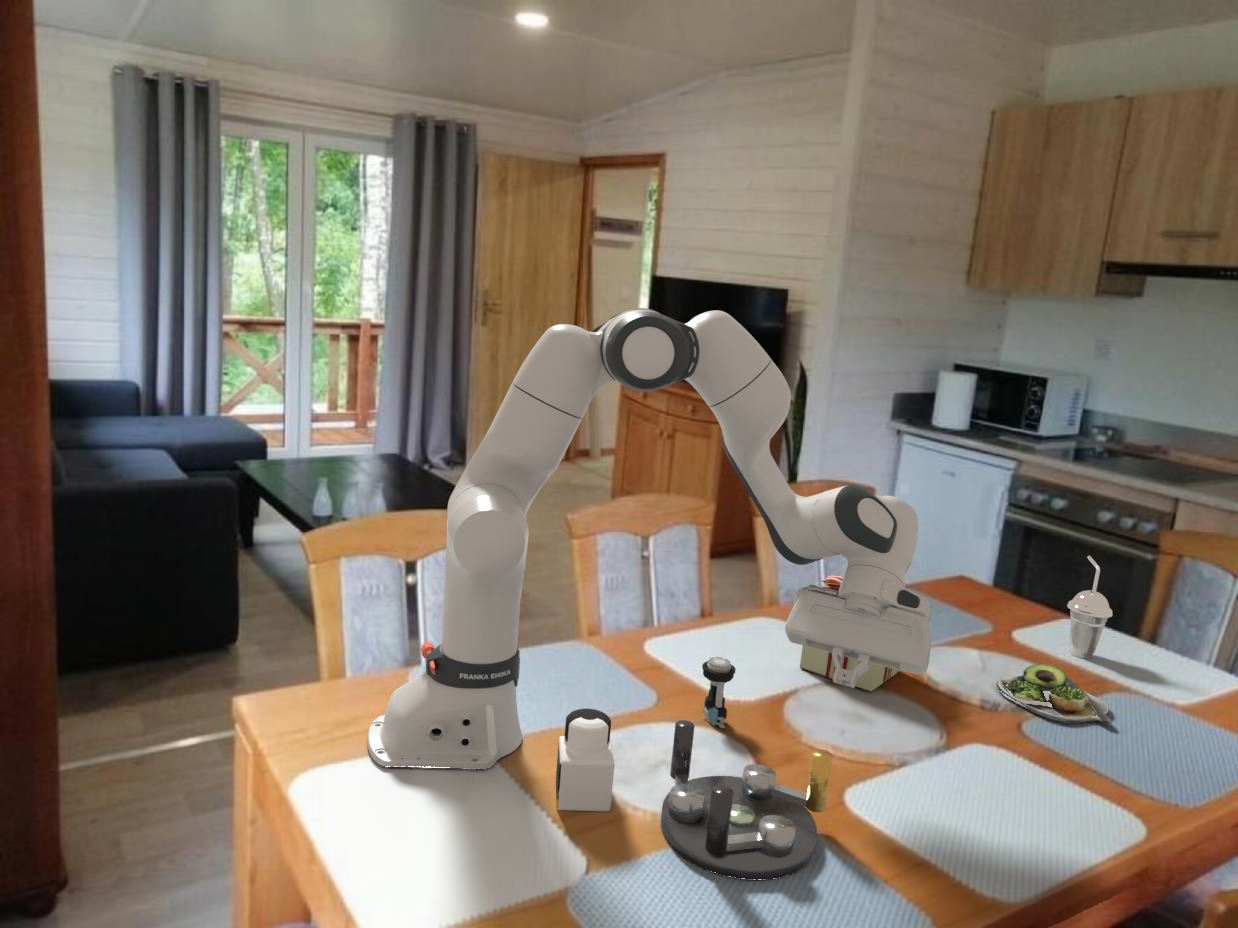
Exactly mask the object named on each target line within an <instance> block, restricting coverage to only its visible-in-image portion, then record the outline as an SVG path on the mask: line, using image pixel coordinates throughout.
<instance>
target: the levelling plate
mask: <svg viewBox="0 0 1238 928" xmlns="http://www.w3.org/2000/svg"><path fill="white" fill-rule="evenodd" d="M742 779H743V777H739V776H732V775H708V776H703V777H702V776H701V777H697V778H691V779H688V781H689V784H690V785H694V786H696V787H698V788H700V789H701V790H702V791H703V792H704V804H703V813H702V818H701V819H700V820H699V821H697V822H693V823H684V822H680V821H677V820H675V819H673V818H672V817H671V816H670V815H669V812H668V809H669V799H670V791H668V793H667V794H666V795H665V797H664V799H663V802H662V806H661V815H660V828H661V832H662V835H663V837H664V839H665V841H666V843H667V844H668V846H669V847H671V849H672V850H673V851H674V852H675V853H676V854H677V855H679V856H680V857H681V858H683V859H684V860H686V861H688V863H690V864H692V865H694V864H695V865H694V866H695V867H697V866H698V867H697V868H699V867H702V868H704V869H706V870H709V871H712V872H716V873H718V874H721V875H725V876H731V877H736V878H740V879H739V880H741V878H745V879H756V880H755V881H759V880H758V879H762V880H761V881H764V880H763V879H772V880H774V879H773V878H778V879H782V878H784V877H783V876H786V875H789V876H791V875H793V874H792V873H794V874H796V873H798V872H799V871H801V870H803V869H804V868H805V867H806V866H807V865H808V864H809V863H810V862H811V861H812V858H813V857H814V854H815V850H816V849H815V848H816V843H817V835H818V828H817V824H816V820H815V819H814V817H813V814H812V813H810V810H808V809H807V808H806V807H804V806H801V805H798V804H796V803H793V802H790V801H787V800H784V799H781V798H778V797H775V796H773V797H772V798H771V799H768V800H755V799H751V798H749V797H747V796H746V795H744V794H743V792H742V790H741V787H742ZM718 785H722V786H726V787H729V788H730V789H732V790H733V801H732V809H731V818H730V826H729V834H728V835H737V834H746V833H755V832H759V824H760V820H761V819H762V818H763V817H765V816H768V815H777V816H782V817H785V818H787V819H789V820H790V821H792V822H793V823H794V825H795V827H796V831H795V839H794V846H793V851H792V853H791V854H790V855H788V856H784V857H776V856H771V855H768V854H766V853H764V852H763V851H762V850H761V849H760V848H751V849H743V850H734V851H726V853H724V854H722V855H714V854H711V853H709V852H708V851H707V850H706V849H705V843H706V835H707V826H708V817H709V808H710V800H711V791H712V788H713V787H714V786H718ZM702 868H701V869H702ZM704 869H703V870H704ZM706 870H705V871H706ZM709 871H708V872H709ZM712 872H711V873H712ZM721 875H720V876H721ZM725 876H724V877H725ZM779 877H780V878H779ZM781 877H782V878H781ZM786 877H787V876H786Z"/></svg>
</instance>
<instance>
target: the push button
mask: <svg viewBox="0 0 1238 928" xmlns="http://www.w3.org/2000/svg"><path fill="white" fill-rule="evenodd" d="M701 666H702V667H701V668H702V670H703V671H702V675H703V677H704V678H706V679H707V680H708V681H709V690H708V695H707V696H705V698H704V705H703V718H704V719H705V720H707V719H708V721H709V723H711V725H712V726H719V728H720V729H722V728H723V729H725V728H726V726H725V725H724V723H726V722H727V721H726V719H727V715H728V709H727V708H726V707H725V703H726V702H725V701H726V698H725V696H724V691H725V690H724V689H725V684H726V683H729V682H731V681H732V680H733V678H734V675H735V674H736V667H735V666H734V665H733V664H732V663H731V661H730V660H729V659H727V658H725V657H722V656H721V657H719V656H713V657H710V658H709V659H708V661H705V662H703V663H702V665H701Z"/></svg>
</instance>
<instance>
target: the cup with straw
mask: <svg viewBox="0 0 1238 928" xmlns="http://www.w3.org/2000/svg"><path fill="white" fill-rule="evenodd" d="M1087 559H1088V561H1089V562H1090V563H1091V564H1092V565H1093V567H1094V568H1095V575H1094V580H1093V586H1092V590H1091V589H1089V590H1083V591H1080V592H1078V593H1076V595H1075V596H1073V598H1072V599H1071V600H1069V601H1068V603H1067V605H1066V607H1067V608H1068V609H1070V611H1069V612H1070V613H1069V615H1070V617H1069V618H1070V632H1069V634H1070V636H1069V651H1068V653H1069V654H1070V655H1072V656H1074V657H1077V658H1078V659H1086V660H1090V659H1091V660H1092V659H1093V658H1094V654H1095V652H1096V650H1097V647H1098V643H1099V641H1100V638H1101V635H1102V631H1103V629H1104V627H1105V626H1106V623H1107V621H1108V619H1109V618H1112V617H1113V614H1114V613H1113V610H1112V608H1110V604H1109V601H1108V599H1107V598H1106V597H1105V596H1104V595H1103V594H1102V593H1100V592H1098V591H1097V590H1098V589H1097V588H1098V584H1099V578H1100V573H1101V567H1100V565H1098V564H1097V562H1096V561H1095V560H1094V559H1093V557H1092V556H1091V555H1088V556H1087Z"/></svg>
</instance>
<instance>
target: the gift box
mask: <svg viewBox="0 0 1238 928" xmlns="http://www.w3.org/2000/svg"><path fill="white" fill-rule="evenodd" d="M843 576H844V575H839V574H838V575H835V574H831V575H830V574H829V575H828V576H827V577H826V578H825V579H821V580H820V582H822V583H825V585H823V586H820V587H821V588H828V589H832V590H837V591H839V588H840V585H841V582H842V579H843ZM799 662H800V663H799V667H800V669H803V670H806V671H808V672H810V673H811V672H812V673H814V674H817V675H819V676H823V677H826V678H828V679H831V680H833V675H834V672H835V669H836V668H835V665H834V661H833V657H832V653H831V652H827V651H823V650H819V649H815V648H811V647H807V646H803V645H802V648H801V654H800V660H799ZM839 664H840V667H841V668H842V669H846V670H850V671H852V670H853V669H854V668H856V667H857V666H858V665H859V663H858V659H854V658H850V657H846V656H844V660H843V662H840V661H839ZM899 672H900V670H896V669H893V668H889V667H885V666H881V665H877V664H873V663H870V666H869V669H868V670H867V671H866V672H865V673H863V674H862V675H861V676H860V677H859V678H857V681H856V684H855V687H854V688H858V687H859V689H861V688H864V689H866V690H865V691H867V690H869V691H868V692H874V690H876V689H878V687H880V686H881V685H882V684H884V683H886V682H887V681H889V680H890V679H891V678H893V677H894V676H895V675H897V674H898V673H899ZM864 689H863V690H864Z"/></svg>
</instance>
